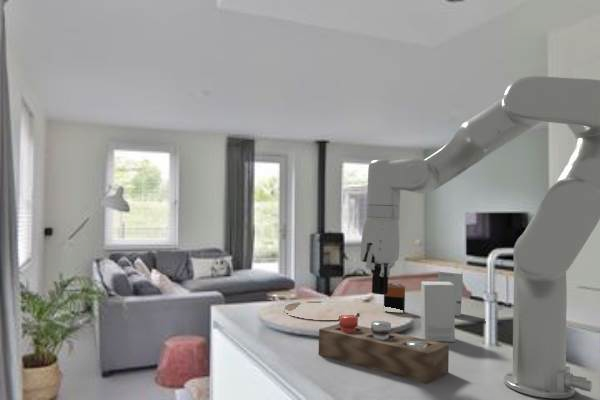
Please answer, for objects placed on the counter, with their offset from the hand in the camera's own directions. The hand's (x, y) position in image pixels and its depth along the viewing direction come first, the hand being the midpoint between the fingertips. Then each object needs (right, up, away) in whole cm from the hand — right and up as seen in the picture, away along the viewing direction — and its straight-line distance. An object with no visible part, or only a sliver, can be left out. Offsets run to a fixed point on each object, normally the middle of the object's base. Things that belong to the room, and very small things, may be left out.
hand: (379, 293), depth 109 cm
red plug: (-7, -12, +5) cm, 15 cm away
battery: (+15, -18, +58) cm, 62 cm away
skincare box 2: (+34, -19, +57) cm, 69 cm away
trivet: (-11, -18, +54) cm, 58 cm away
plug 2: (+7, -15, -7) cm, 18 cm away
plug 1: (0, -12, -1) cm, 12 cm away
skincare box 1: (+20, -17, +22) cm, 34 cm away
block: (0, -16, -1) cm, 16 cm away
